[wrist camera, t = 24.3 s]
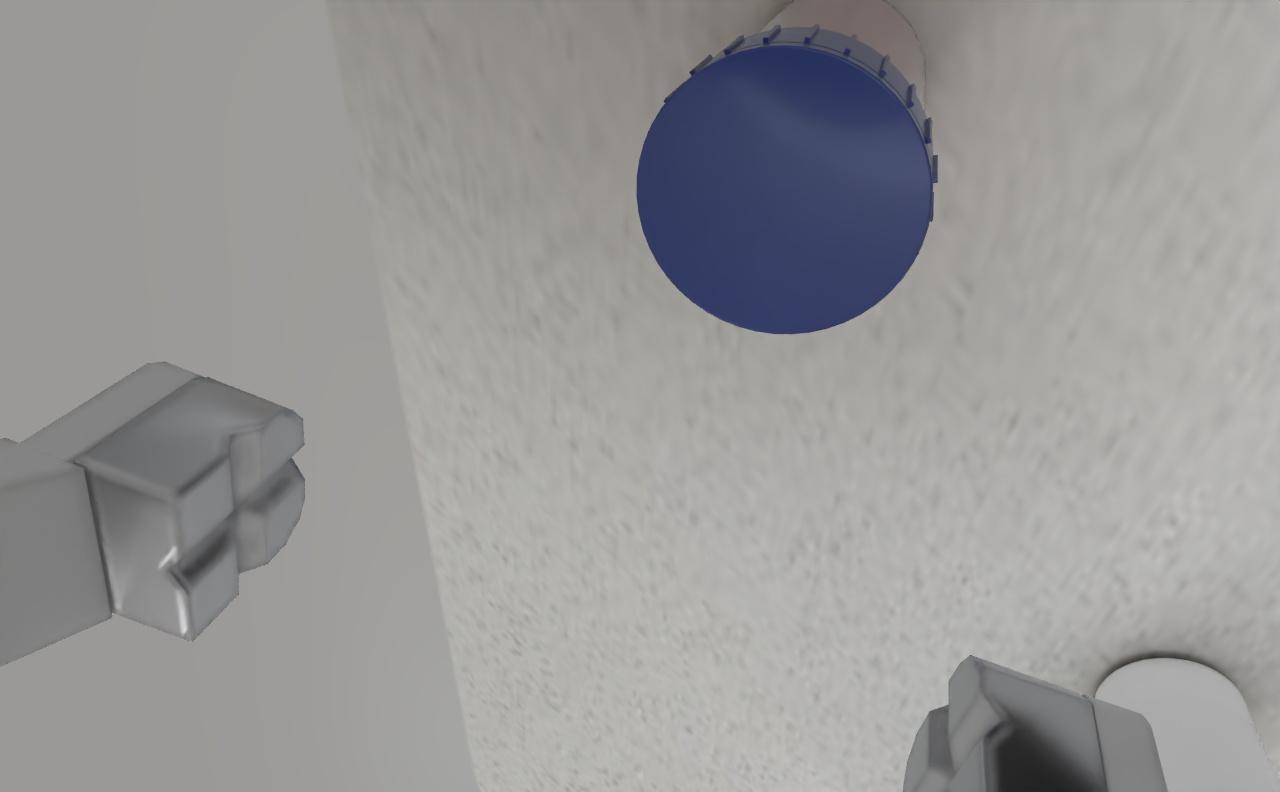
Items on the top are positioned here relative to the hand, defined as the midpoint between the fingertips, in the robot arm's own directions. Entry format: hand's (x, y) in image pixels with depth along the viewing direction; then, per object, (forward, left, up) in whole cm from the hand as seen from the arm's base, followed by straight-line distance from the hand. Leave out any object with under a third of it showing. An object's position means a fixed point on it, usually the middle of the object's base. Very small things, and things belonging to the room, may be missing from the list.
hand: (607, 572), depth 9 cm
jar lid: (0, 0, -12) cm, 12 cm away
